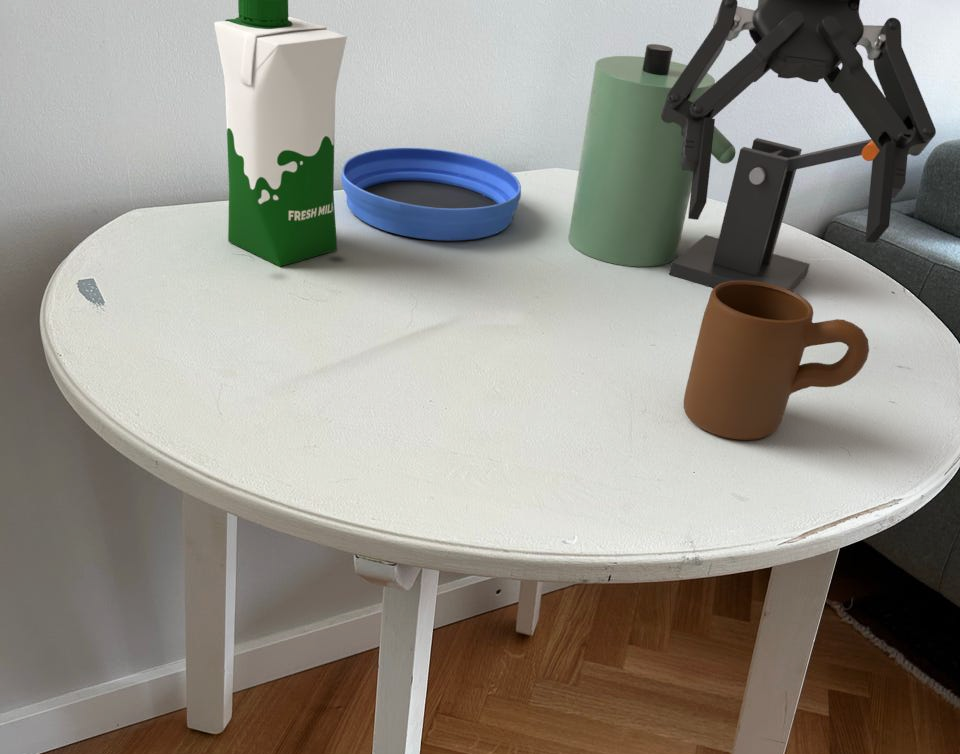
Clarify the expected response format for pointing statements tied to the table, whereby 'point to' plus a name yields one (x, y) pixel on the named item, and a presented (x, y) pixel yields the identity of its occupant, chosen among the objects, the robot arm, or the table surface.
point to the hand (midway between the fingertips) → (787, 223)
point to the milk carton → (280, 131)
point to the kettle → (634, 163)
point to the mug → (761, 358)
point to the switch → (832, 154)
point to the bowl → (430, 193)
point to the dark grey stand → (749, 226)
